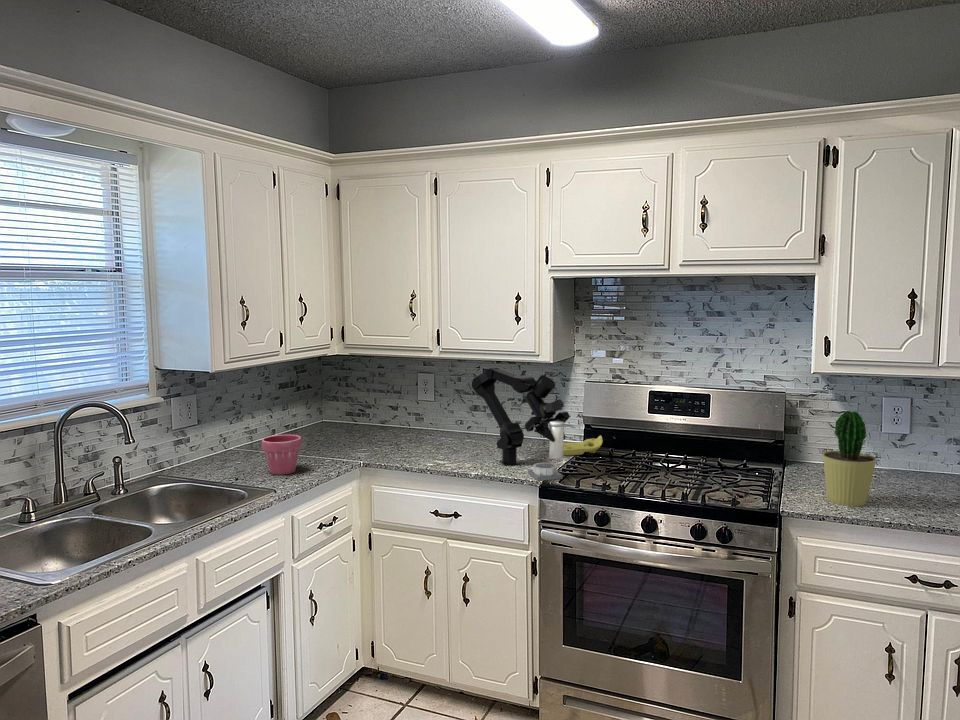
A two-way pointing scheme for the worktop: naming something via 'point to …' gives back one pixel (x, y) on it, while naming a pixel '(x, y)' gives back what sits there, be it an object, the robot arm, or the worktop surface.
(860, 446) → the potted cactus
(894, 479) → the worktop surface
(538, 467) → the duct collar
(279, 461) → the plant pot
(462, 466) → the worktop surface
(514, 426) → the robot arm
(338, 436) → the worktop surface
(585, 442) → the plastic component
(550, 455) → the white cylinder
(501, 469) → the worktop surface
